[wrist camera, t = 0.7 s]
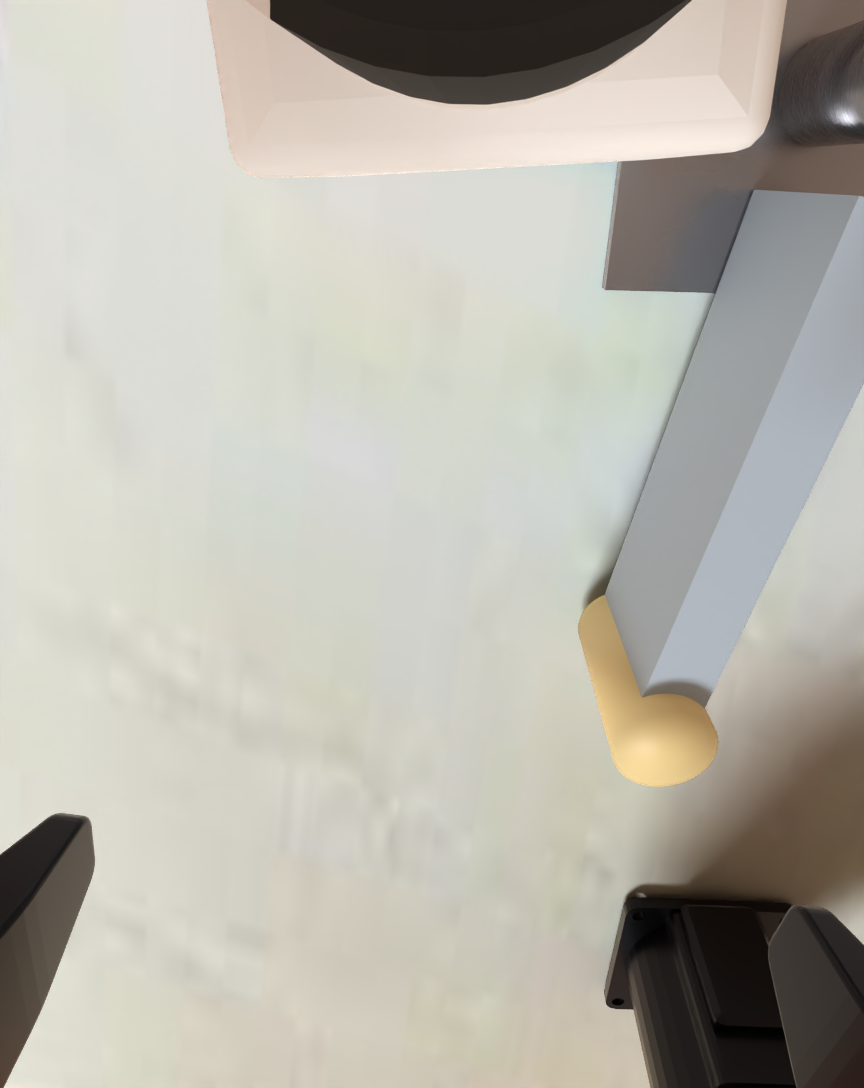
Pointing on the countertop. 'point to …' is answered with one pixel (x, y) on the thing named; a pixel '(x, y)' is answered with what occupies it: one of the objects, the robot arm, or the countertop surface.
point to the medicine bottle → (489, 82)
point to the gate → (729, 477)
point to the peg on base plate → (747, 161)
